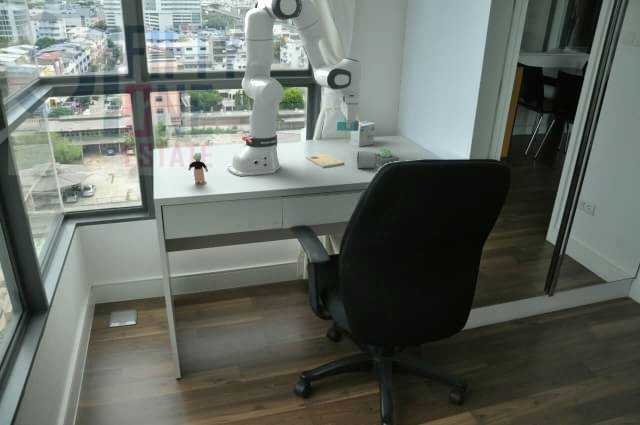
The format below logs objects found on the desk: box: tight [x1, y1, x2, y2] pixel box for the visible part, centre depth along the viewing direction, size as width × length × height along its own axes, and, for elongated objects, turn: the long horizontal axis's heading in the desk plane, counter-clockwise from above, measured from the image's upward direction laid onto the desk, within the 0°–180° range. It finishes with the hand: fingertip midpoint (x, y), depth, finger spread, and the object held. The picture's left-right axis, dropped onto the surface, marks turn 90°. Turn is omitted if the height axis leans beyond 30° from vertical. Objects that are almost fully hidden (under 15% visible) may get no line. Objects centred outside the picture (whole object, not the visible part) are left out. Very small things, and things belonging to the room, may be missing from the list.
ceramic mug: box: [356, 150, 378, 169], centre depth 222 cm, size 11×8×8 cm
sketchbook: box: [305, 153, 345, 169], centre depth 228 cm, size 11×15×1 cm
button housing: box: [376, 152, 400, 167], centre depth 229 cm, size 9×9×3 cm
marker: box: [335, 119, 360, 132], centre depth 231 cm, size 10×4×4 cm, turn 97°
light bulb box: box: [350, 120, 376, 148], centre depth 254 cm, size 11×7×11 cm, turn 130°
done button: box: [379, 148, 392, 159], centre depth 228 cm, size 5×5×4 cm
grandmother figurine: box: [187, 151, 209, 186], centre depth 196 cm, size 8×4×13 cm, turn 99°
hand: (346, 126), depth 231 cm, fingers closed on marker, 4 cm apart
